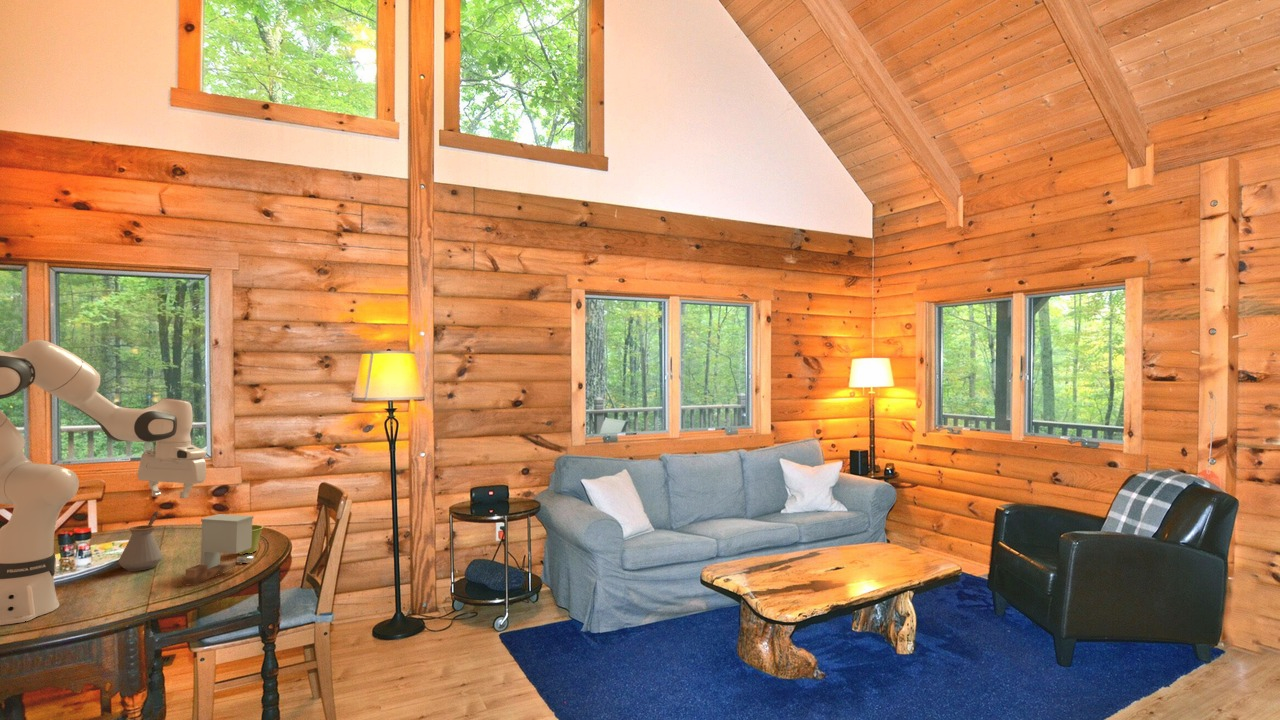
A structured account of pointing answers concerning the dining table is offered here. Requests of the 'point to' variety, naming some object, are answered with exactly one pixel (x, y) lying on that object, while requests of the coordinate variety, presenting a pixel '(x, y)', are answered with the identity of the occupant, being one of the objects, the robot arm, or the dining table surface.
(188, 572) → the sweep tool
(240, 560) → the steel token
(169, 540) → the dining table surface
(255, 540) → the plant pot
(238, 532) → the grey cube on pedestal
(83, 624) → the dining table surface
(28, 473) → the robot arm
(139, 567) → the coffee pot
